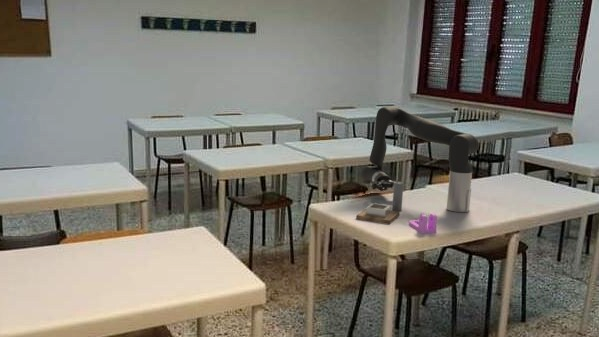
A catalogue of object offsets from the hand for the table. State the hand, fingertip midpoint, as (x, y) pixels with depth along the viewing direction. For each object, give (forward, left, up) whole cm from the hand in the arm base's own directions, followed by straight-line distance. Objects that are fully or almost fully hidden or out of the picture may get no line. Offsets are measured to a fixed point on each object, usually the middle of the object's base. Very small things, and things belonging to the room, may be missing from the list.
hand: (391, 189), depth 241 cm
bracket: (-20, +27, -7) cm, 35 cm away
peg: (-5, +8, -7) cm, 12 cm away
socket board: (-1, +22, -7) cm, 23 cm away
